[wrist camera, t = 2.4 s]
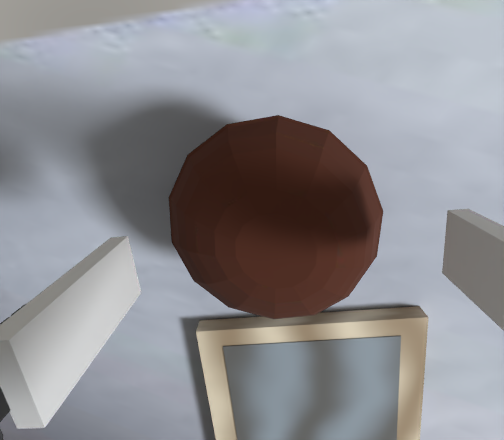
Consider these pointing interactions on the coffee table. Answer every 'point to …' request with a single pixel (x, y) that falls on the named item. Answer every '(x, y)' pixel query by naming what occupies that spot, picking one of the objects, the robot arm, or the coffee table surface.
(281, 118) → the muffin
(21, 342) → the robot arm
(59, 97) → the coffee table surface
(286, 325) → the gold framed mirror
